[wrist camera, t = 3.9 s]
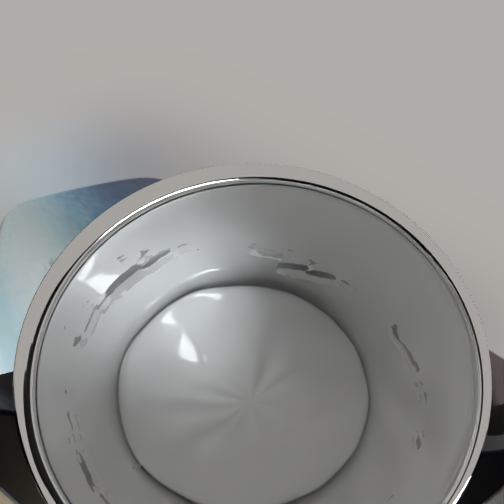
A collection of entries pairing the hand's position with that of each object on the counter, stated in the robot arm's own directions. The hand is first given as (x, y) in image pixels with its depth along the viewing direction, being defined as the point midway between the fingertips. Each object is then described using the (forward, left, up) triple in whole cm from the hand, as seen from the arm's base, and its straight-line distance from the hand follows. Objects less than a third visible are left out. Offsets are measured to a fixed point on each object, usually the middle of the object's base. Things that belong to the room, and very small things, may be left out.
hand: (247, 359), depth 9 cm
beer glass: (-1, -1, -9) cm, 9 cm away
